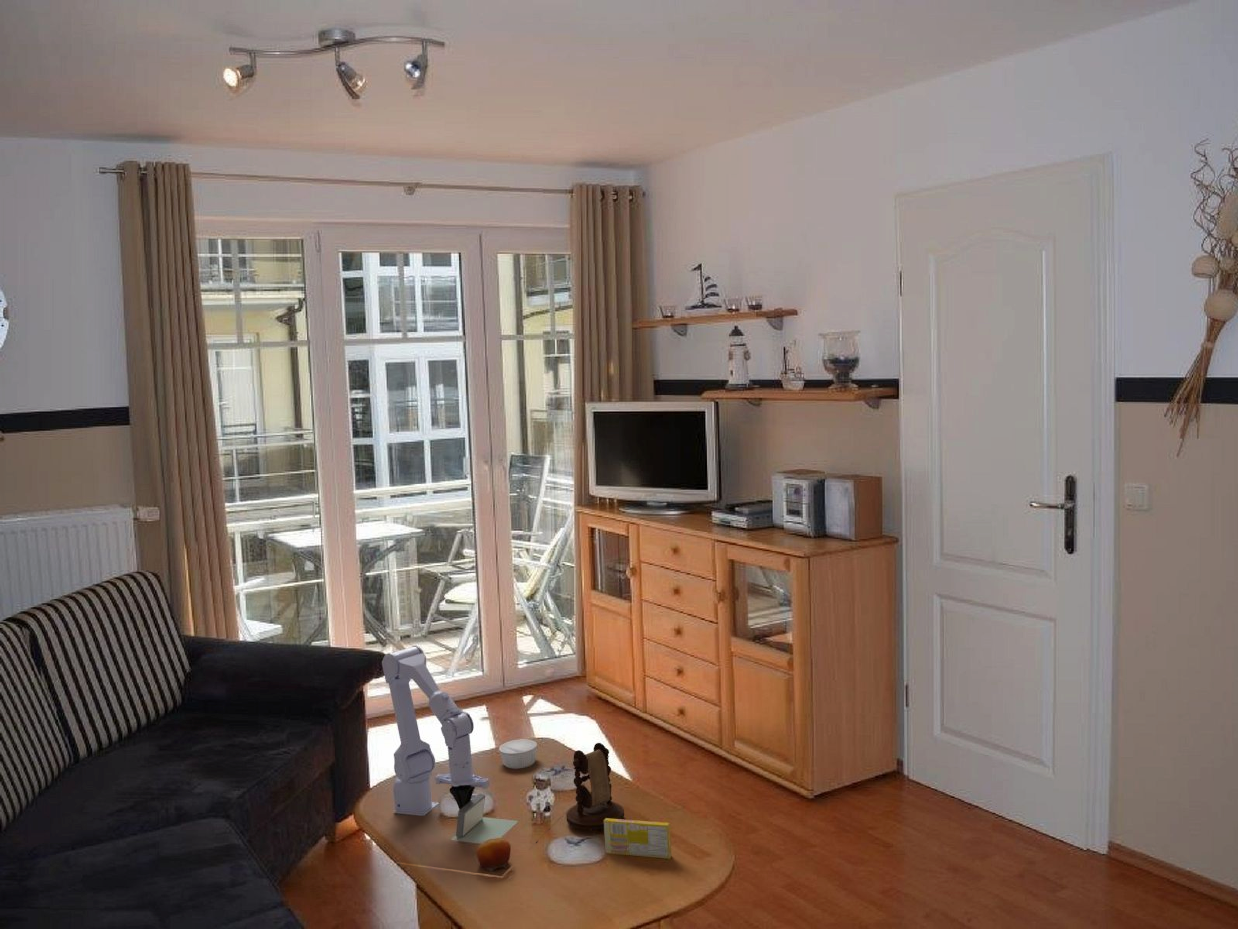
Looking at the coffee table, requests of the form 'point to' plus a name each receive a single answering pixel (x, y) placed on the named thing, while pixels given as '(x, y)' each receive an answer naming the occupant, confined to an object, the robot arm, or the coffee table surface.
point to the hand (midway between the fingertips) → (464, 812)
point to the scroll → (593, 791)
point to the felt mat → (487, 830)
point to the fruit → (494, 853)
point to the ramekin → (518, 753)
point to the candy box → (637, 838)
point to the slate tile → (470, 815)
